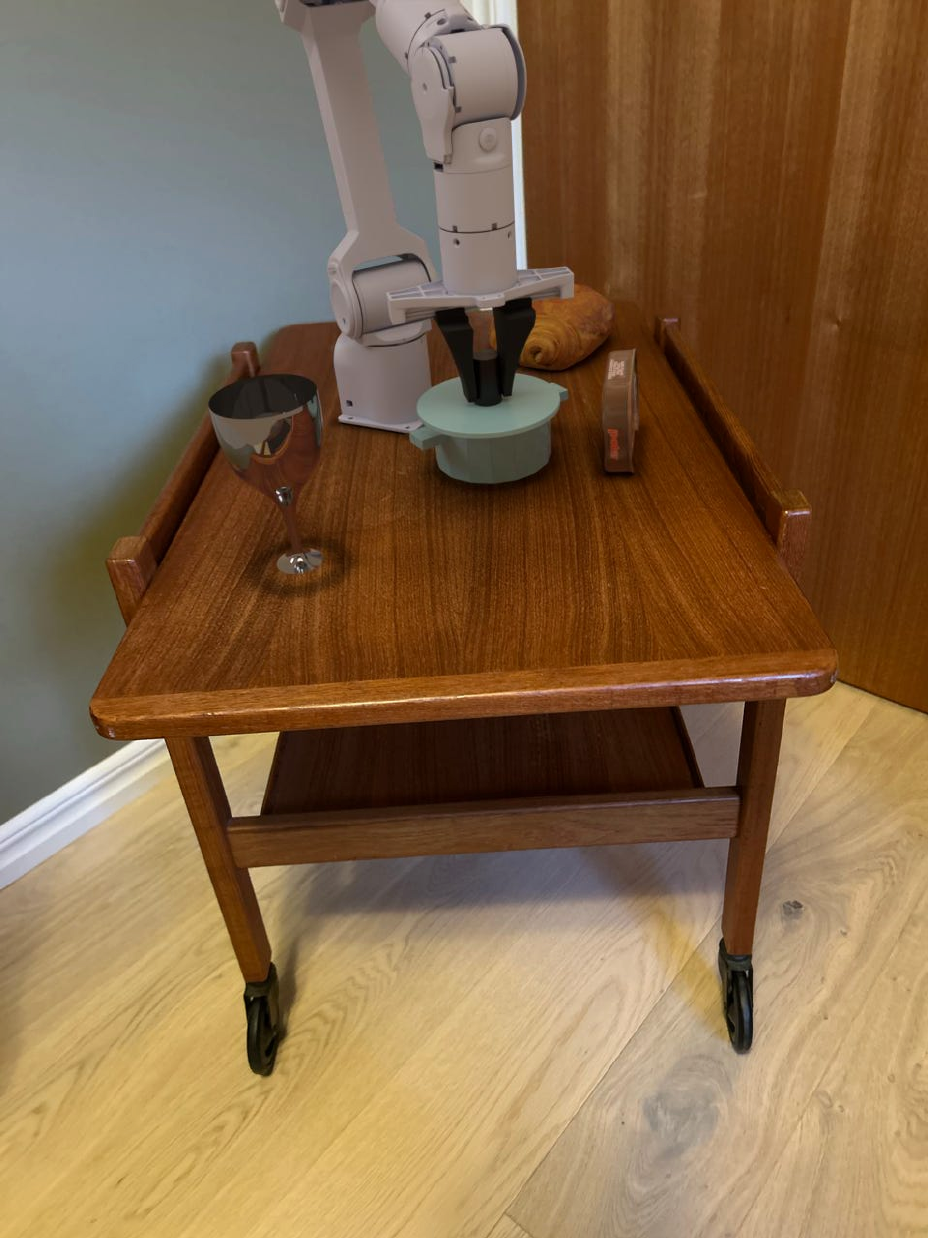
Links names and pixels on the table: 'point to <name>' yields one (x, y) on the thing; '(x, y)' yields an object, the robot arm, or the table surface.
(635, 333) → the table surface
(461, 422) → the lid
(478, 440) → the pot
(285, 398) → the wine glass
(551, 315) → the croissant
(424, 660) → the table surface
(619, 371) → the tin
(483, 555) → the table surface
